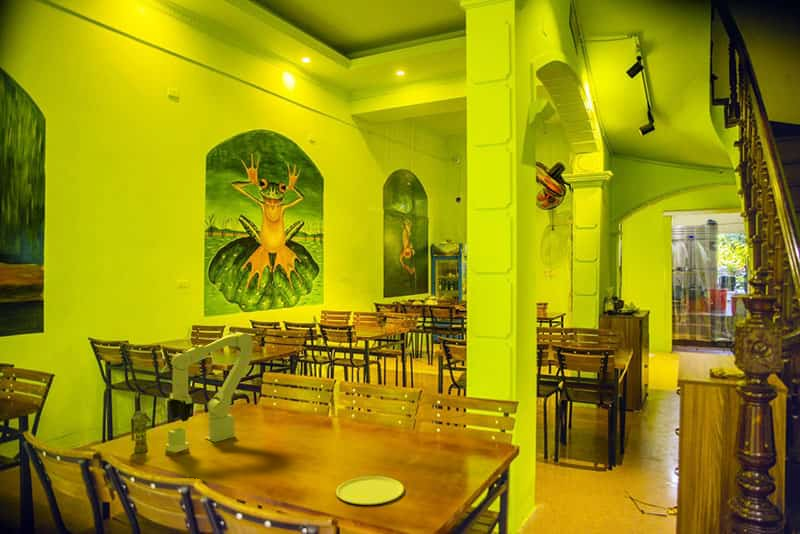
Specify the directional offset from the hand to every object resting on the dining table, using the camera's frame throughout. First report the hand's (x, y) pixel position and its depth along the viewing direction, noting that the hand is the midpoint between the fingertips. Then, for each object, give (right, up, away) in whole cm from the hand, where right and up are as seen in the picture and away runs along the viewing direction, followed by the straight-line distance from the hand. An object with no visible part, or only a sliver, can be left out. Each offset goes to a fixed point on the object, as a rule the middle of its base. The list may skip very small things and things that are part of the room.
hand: (180, 419), depth 214 cm
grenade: (-13, -11, -5) cm, 18 cm away
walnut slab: (+2, -11, -8) cm, 14 cm away
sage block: (+2, -7, -8) cm, 11 cm away
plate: (+77, -9, -48) cm, 91 cm away
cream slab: (+2, -9, -8) cm, 12 cm away
